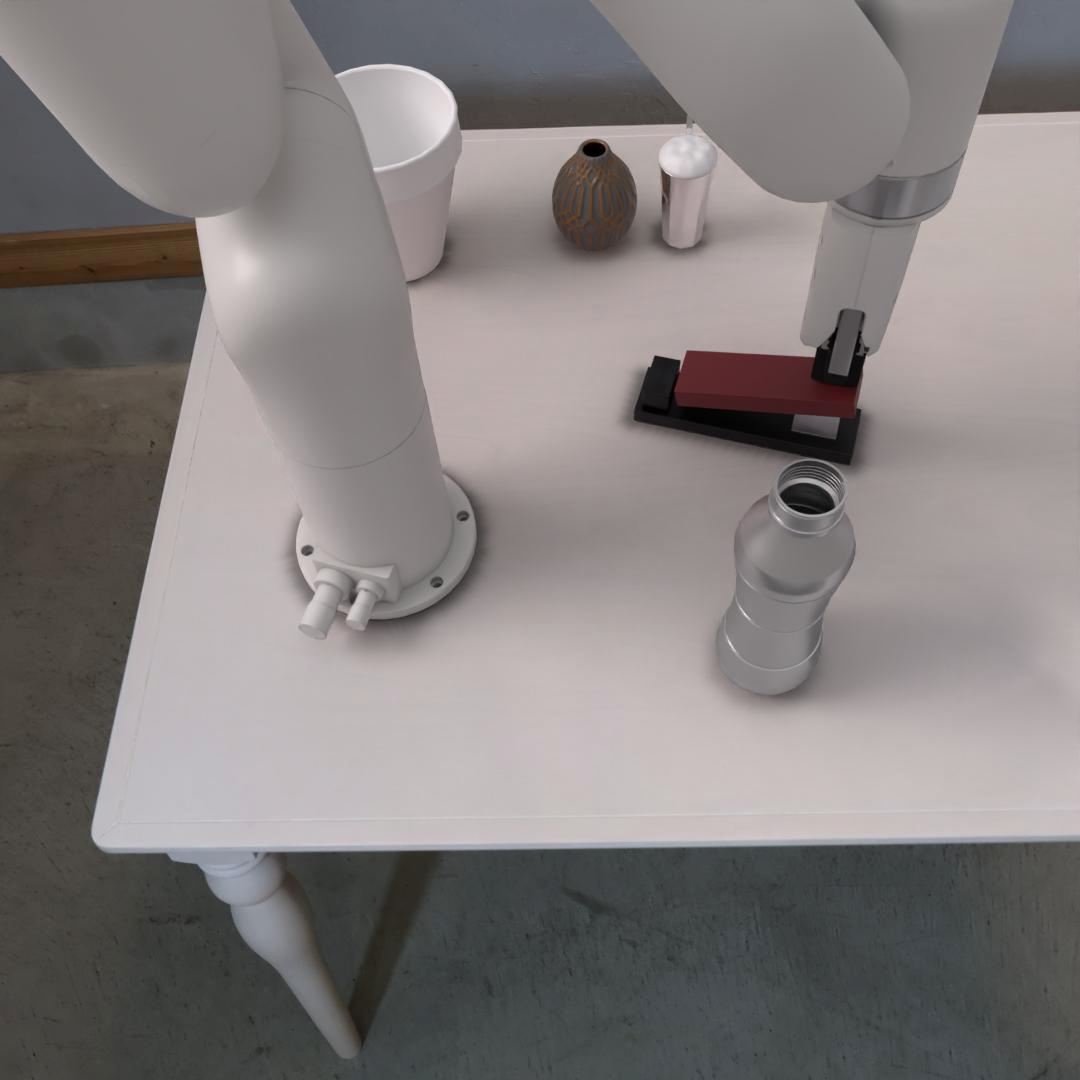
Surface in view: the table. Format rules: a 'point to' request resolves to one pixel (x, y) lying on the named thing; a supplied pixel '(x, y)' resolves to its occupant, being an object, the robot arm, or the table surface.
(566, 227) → the vase
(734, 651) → the plastic bottle
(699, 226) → the milkshake
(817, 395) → the stapler arm
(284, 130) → the robot arm
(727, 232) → the table surface
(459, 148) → the cup
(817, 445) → the stapler base
